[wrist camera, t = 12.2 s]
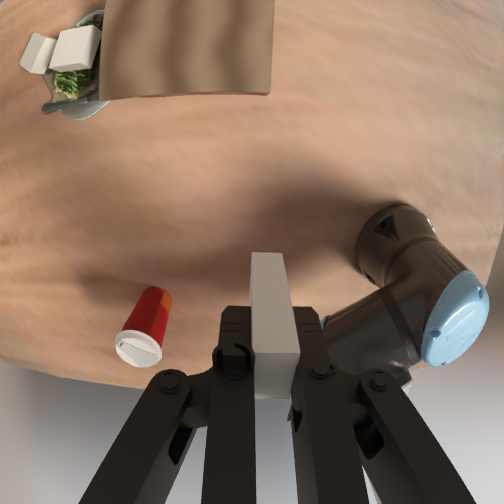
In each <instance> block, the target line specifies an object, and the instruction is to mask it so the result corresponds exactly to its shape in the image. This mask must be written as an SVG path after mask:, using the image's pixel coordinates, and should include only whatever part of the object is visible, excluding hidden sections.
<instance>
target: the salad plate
mask: <svg viewBox="0 0 504 504" xmlns="http://www.w3.org/2000/svg"><path fill="white" fill-rule="evenodd" d="M104 11H105V9H101V10H96V11H93V12H91V13H90V14H88V15H87V16H85V17H84V18H83V19H82V20H80V21H79V22H78V23H77V24H76V25H75V26H74V27H73V28H78V27H83V26H89V25H94V26H96V27H97V28H98V29H99V30H101V31H102V28H103V19H104ZM73 28H71V29H73ZM101 39H102V35H101V38H100V41H99V45H98V48H97V51H96V53H98V55H97V56H96V57H95V58H94V61H93V65H92V68H91V69H82V70H73V71H66V72H58V71H55V70H53V69H50V68H49V65H50V62H51V60H50V62H49V64H48V66H47V68H46V71H45V73H44V78H45V81H46V83H47V85H48V87H49V89H50V91H51V93H52V96H53V100H52V101H51V102H50V103H47V104H45V105H44V106H43V108H42V112H43V114H49V113H53V112H56V111H60V112H62V113H63V114H64V115H65V116H66V117H68V118H70V119H74V120H84V119H87V118H89V117H91V116H92V115H94V114H95V113H97V112H98V111H99V110H101V109H102V108H103V107H104V106H105V105H106V104H108V103H109V102H110V101H111V100H110V101H99V75H100V53H101ZM51 59H52V58H51ZM92 84H96V85H97V90H96V91H95V92H93V91H91V90H90V86H91V85H92Z"/></svg>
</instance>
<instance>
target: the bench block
mask: <svg viewBox="0 0 504 504" xmlns="http://www.w3.org/2000/svg"><path fill="white" fill-rule="evenodd" d="M274 1H275V0H106V3H105V11H104V19H103V28H102V39H101V53H100V75H99V101H110V100H117V99H124V98H132V97H165V96H180V95H208V94H235V95H263V96H266V95H268V94H269V93H270V88H271V67H272V46H273V24H274Z"/></svg>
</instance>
